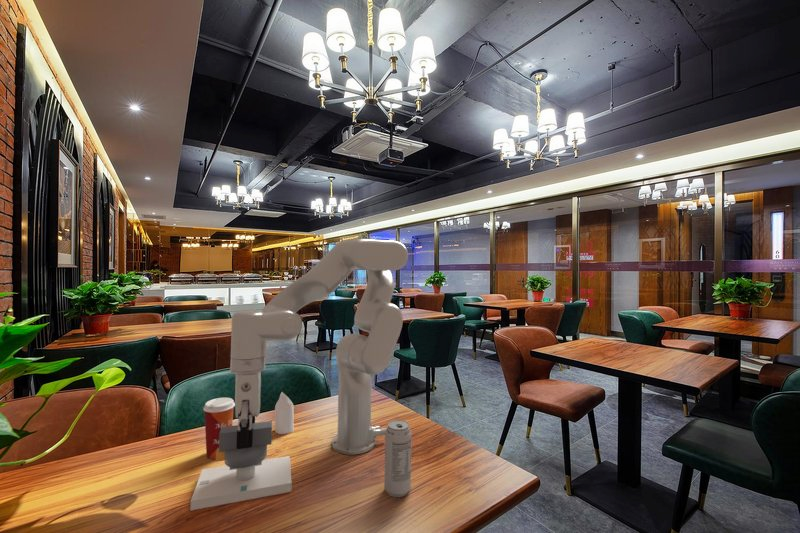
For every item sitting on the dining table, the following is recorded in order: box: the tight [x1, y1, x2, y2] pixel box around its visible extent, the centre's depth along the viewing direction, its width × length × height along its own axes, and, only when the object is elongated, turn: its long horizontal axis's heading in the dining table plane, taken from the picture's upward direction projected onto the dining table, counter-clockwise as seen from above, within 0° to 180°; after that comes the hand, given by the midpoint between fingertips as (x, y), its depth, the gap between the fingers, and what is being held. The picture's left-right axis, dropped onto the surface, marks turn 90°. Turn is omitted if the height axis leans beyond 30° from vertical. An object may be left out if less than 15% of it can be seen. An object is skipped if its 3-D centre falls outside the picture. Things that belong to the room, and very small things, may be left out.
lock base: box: [189, 455, 293, 511], centre depth 81 cm, size 20×12×6 cm, turn 110°
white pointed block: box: [274, 391, 295, 435], centre depth 109 cm, size 6×12×6 cm
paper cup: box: [202, 397, 235, 460], centre depth 94 cm, size 8×8×14 cm
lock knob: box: [215, 420, 273, 468], centre depth 81 cm, size 12×9×7 cm
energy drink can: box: [383, 419, 412, 498], centre depth 80 cm, size 6×6×15 cm
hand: (246, 437), depth 81 cm, fingers open, 8 cm apart
